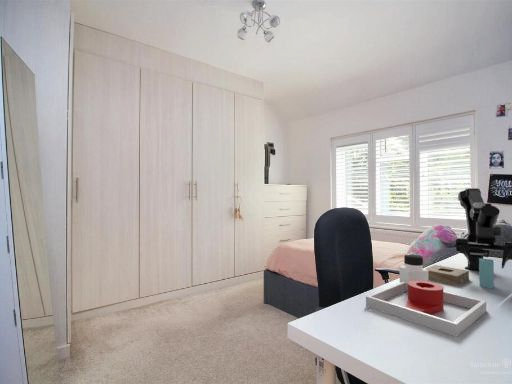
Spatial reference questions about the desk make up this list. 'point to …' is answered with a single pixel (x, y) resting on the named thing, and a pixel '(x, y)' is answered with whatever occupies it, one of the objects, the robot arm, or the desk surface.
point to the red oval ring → (425, 297)
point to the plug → (486, 273)
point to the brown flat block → (448, 275)
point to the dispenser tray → (425, 319)
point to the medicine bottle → (413, 269)
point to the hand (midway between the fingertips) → (486, 265)
